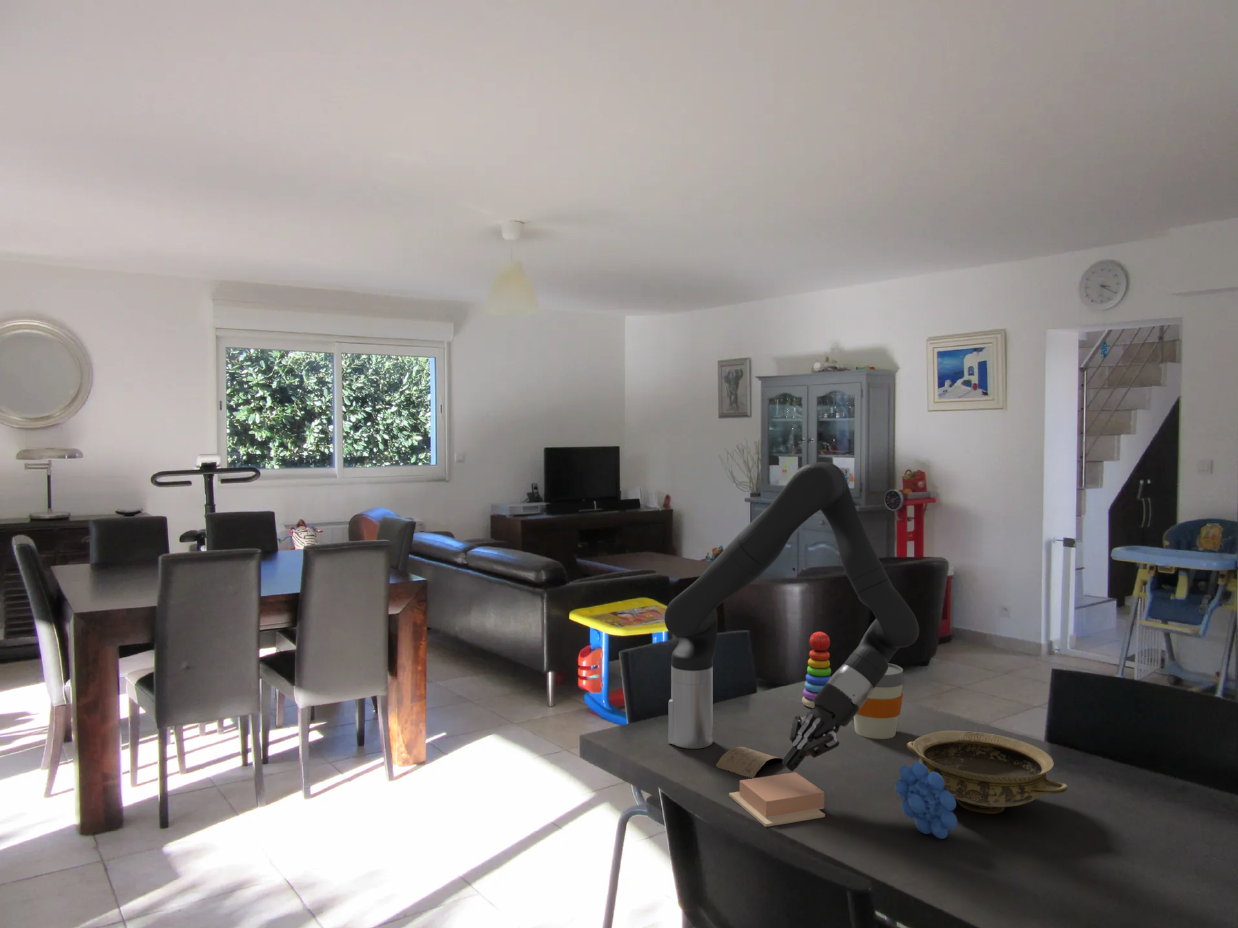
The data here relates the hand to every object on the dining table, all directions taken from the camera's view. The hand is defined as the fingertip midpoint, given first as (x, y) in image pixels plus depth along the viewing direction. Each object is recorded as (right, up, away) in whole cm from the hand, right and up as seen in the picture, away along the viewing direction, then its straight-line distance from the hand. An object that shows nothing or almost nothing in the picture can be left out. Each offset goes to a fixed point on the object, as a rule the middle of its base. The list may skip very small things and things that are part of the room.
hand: (786, 767), depth 158 cm
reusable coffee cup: (+28, -6, +39) cm, 49 cm away
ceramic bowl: (+36, -7, 0) cm, 37 cm away
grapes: (+21, -7, -12) cm, 25 cm away
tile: (+5, -5, +2) cm, 7 cm away
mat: (-2, -7, -1) cm, 7 cm away
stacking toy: (+20, -6, +59) cm, 63 cm away
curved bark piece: (-4, -7, +20) cm, 22 cm away
